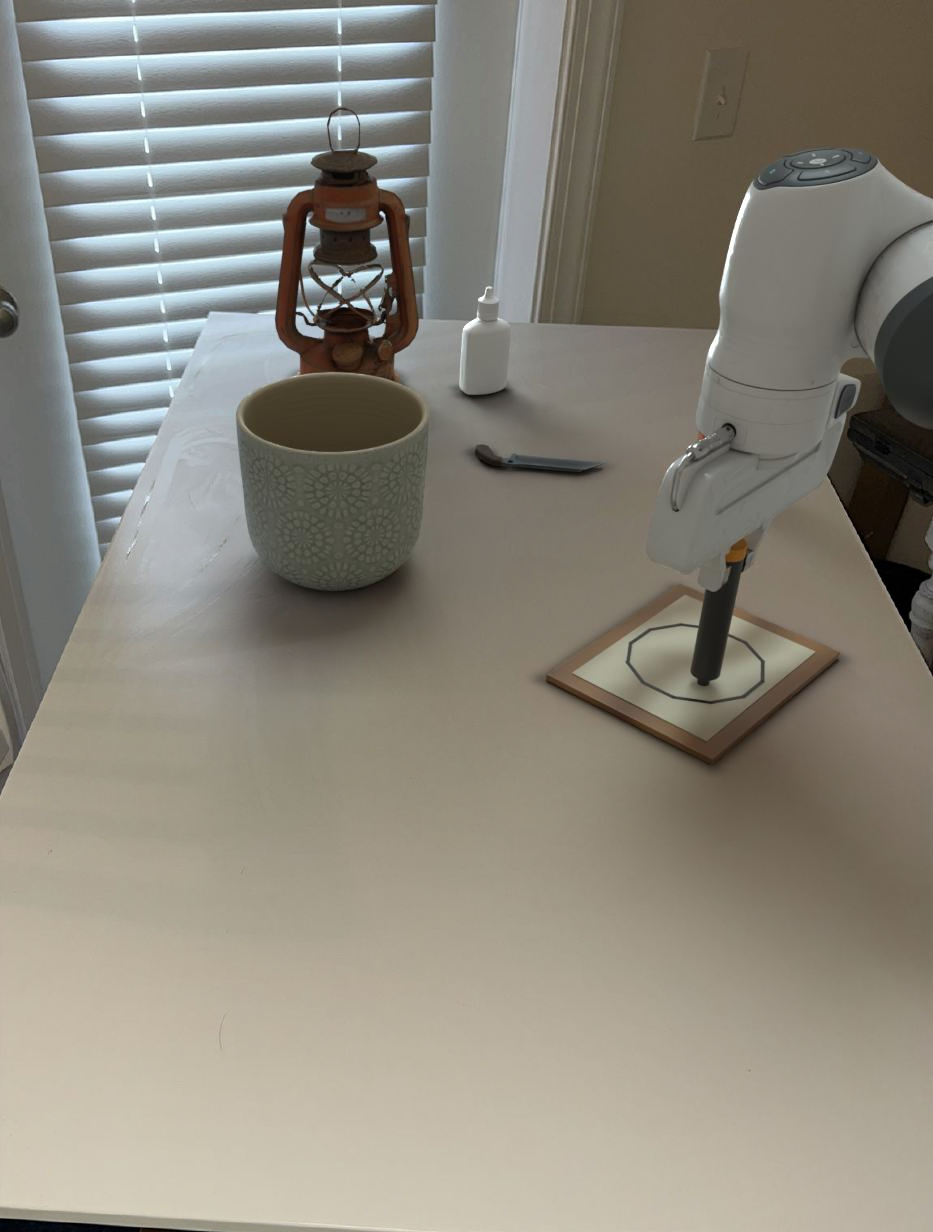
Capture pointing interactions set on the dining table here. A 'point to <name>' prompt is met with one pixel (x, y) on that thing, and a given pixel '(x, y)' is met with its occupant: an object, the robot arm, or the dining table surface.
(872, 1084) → the dining table surface
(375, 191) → the lantern
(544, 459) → the knife
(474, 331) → the eye dropper bottle
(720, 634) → the marker
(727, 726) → the sketch board
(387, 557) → the planter
